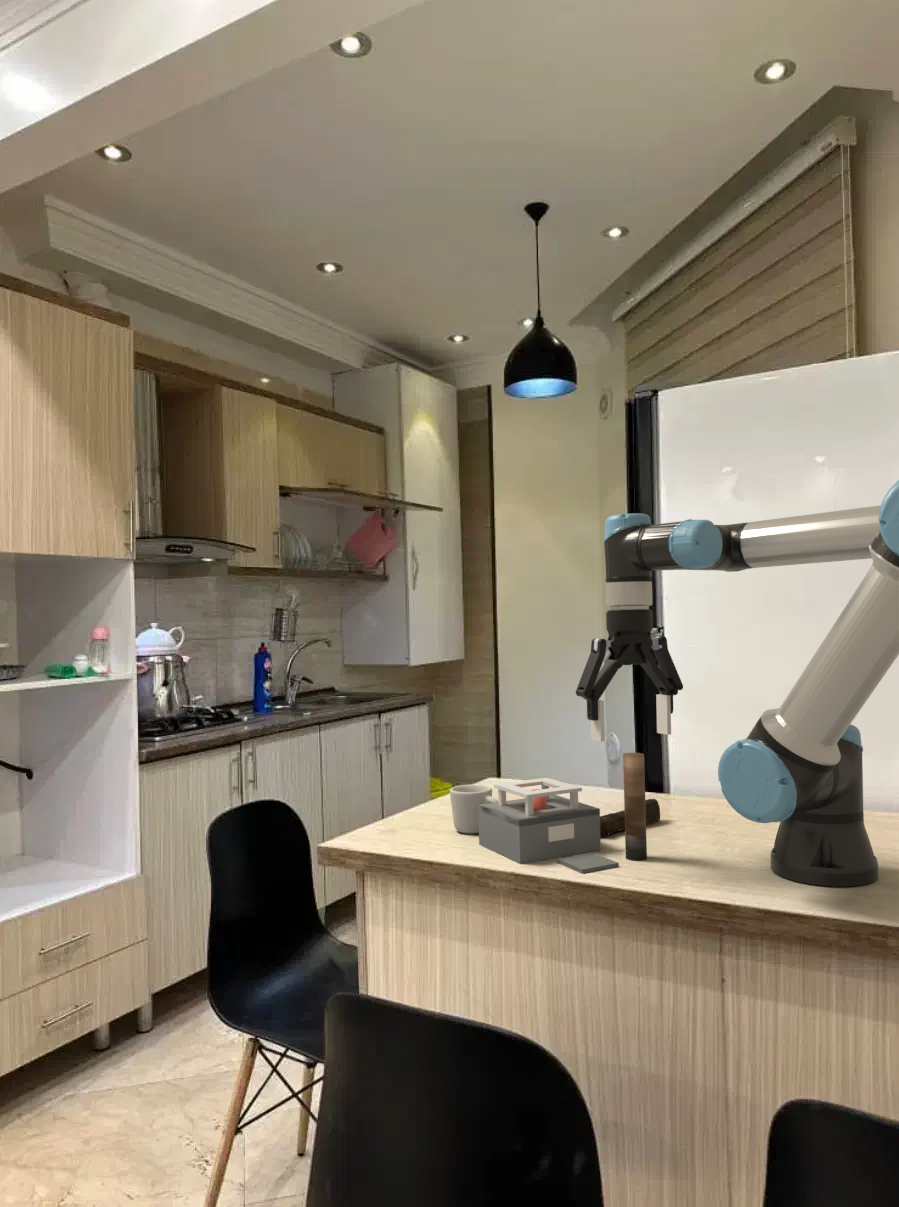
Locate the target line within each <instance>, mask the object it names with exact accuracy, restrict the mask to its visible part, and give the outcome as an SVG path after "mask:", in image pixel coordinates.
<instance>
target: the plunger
mask: <svg viewBox="0 0 899 1207" xmlns="http://www.w3.org/2000/svg"><path fill="white" fill-rule="evenodd" d="M541 789H542V788H541ZM541 789H530V790H531V791H534V790H541ZM545 809H547V804H546V796H543V797H535V798H533V811H538V810H545Z"/></svg>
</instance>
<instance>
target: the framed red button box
mask: <svg viewBox="0 0 899 1207" xmlns="http://www.w3.org/2000/svg"><path fill="white" fill-rule="evenodd" d="M493 785H494V786H493V788H494V789H497V790H498V792H497V794H498V795H497V796H498V799H497V800H498V802H495V803H488V804H480V805H478V816H479V833H478V843H479V846H482V847H484V848H486V849H488V850H490V851H492V852H495V853H496V854H498V855H501V856H502V857H505V858H507V859H510V860H511V861H514V862H516V863H518V864H520V865H522V864H526V863H532V862H538V861H544V860H550V859H551V860H552V859H554V858H555V859H556V858H563V857H569V856H572V855H573V856H575V855H581V854H586V853H592V852H596V851H601V849H602V844H601V843H602V842H601V840H602V838H601V837H600V816H601V812H600V811H601V809H600V808H598V807H596V806H592V805H589V804H587V803H583V802H579V792H582V791H583V787H581V786H579V785H574V784H572V783H571V784H570V783H567V782H562V781H560V780H557V779H553V778H549V777H540V778H532V779H525V780H518V781H509V782H502V783H501V782H499V783H495V784H493ZM534 786H541V790H534V789H533V790H534V791H531V790H532V789H527V788H528V787H534ZM507 793H508V794H512V795H515V796H518V797H520V798H519V799H512V800H507ZM565 794H569V798H567V797H564V796H560V795H565ZM543 796H546V804H547V809H545V810H538V811H533V798H535V797H543Z"/></svg>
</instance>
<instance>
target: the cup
mask: <svg viewBox="0 0 899 1207" xmlns="http://www.w3.org/2000/svg"><path fill="white" fill-rule="evenodd" d="M449 796H450V797H449V798H450V804H451V811H452V820H453V825H454V828H455V830H456V831H457V832H459V833H463V834H468V835H469V834H471V835H472V834H473V835H474V834H479V816H478V805H480V804H488V803H495V802H499V801H498V799H497V798H495V797H493V788H492V787H491V786H489V785H484V784H460V785H455V786H452V787H451V788H450V790H449Z"/></svg>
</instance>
